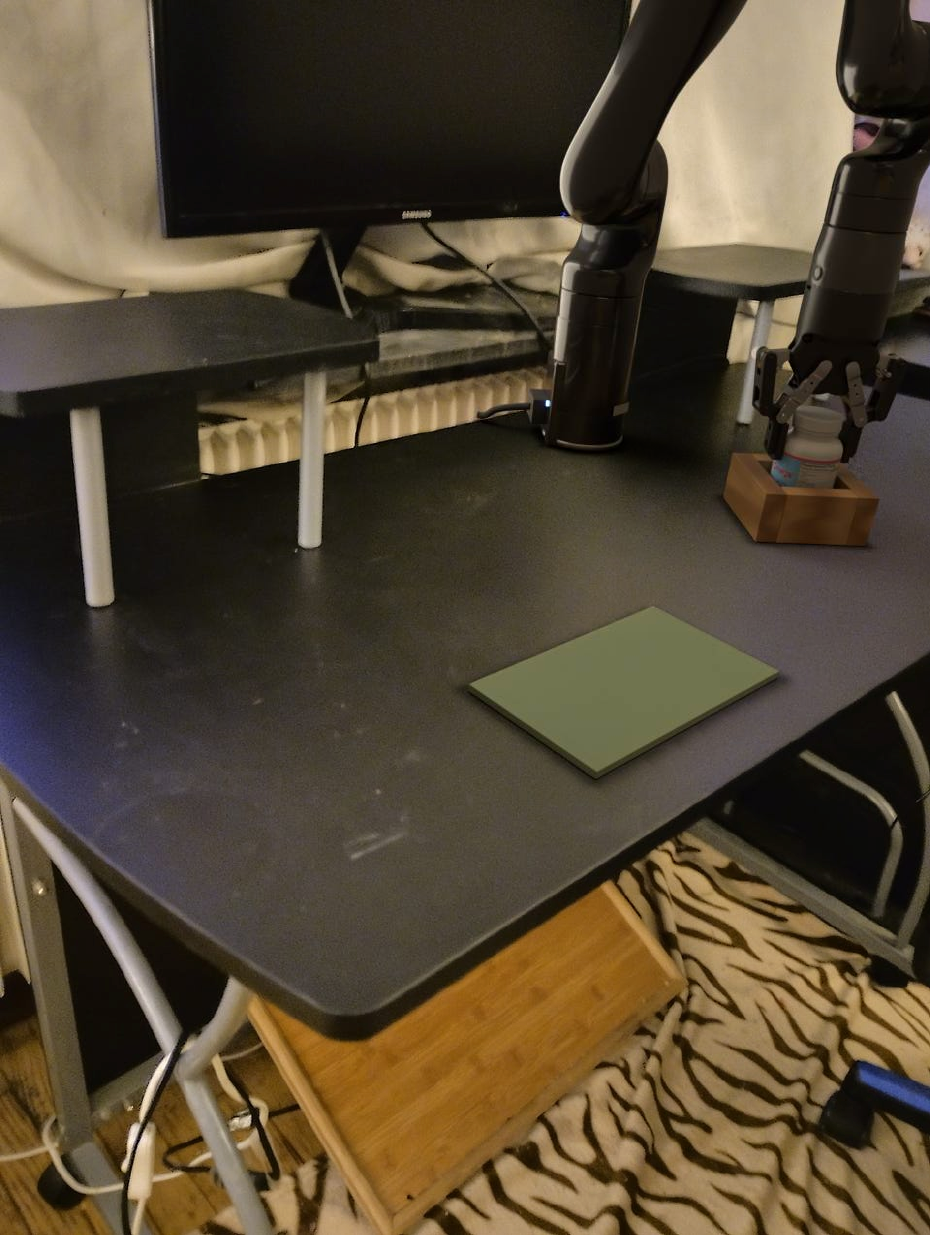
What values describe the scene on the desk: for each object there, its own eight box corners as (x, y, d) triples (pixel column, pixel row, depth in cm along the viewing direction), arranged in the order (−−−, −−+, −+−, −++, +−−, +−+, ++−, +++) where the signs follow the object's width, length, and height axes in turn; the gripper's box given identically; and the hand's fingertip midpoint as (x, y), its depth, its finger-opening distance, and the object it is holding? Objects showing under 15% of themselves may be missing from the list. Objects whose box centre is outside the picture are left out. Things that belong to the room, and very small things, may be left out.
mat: (595, 779, 61) (596, 771, 60) (467, 690, 68) (468, 683, 68) (777, 677, 72) (779, 670, 72) (651, 611, 80) (653, 605, 80)
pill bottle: (754, 506, 102) (779, 400, 96) (813, 511, 102) (840, 405, 96) (768, 530, 96) (795, 420, 91) (830, 535, 96) (860, 425, 91)
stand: (755, 542, 94) (766, 493, 91) (722, 497, 103) (732, 452, 101) (866, 546, 95) (880, 498, 92) (823, 501, 104) (835, 457, 102)
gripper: (910, 277, 91) (862, 449, 100) (759, 268, 90) (723, 442, 99) (948, 294, 85) (894, 476, 93) (787, 284, 84) (746, 469, 92)
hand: (806, 458), depth 96 cm, fingers closed on pill bottle, 6 cm apart
